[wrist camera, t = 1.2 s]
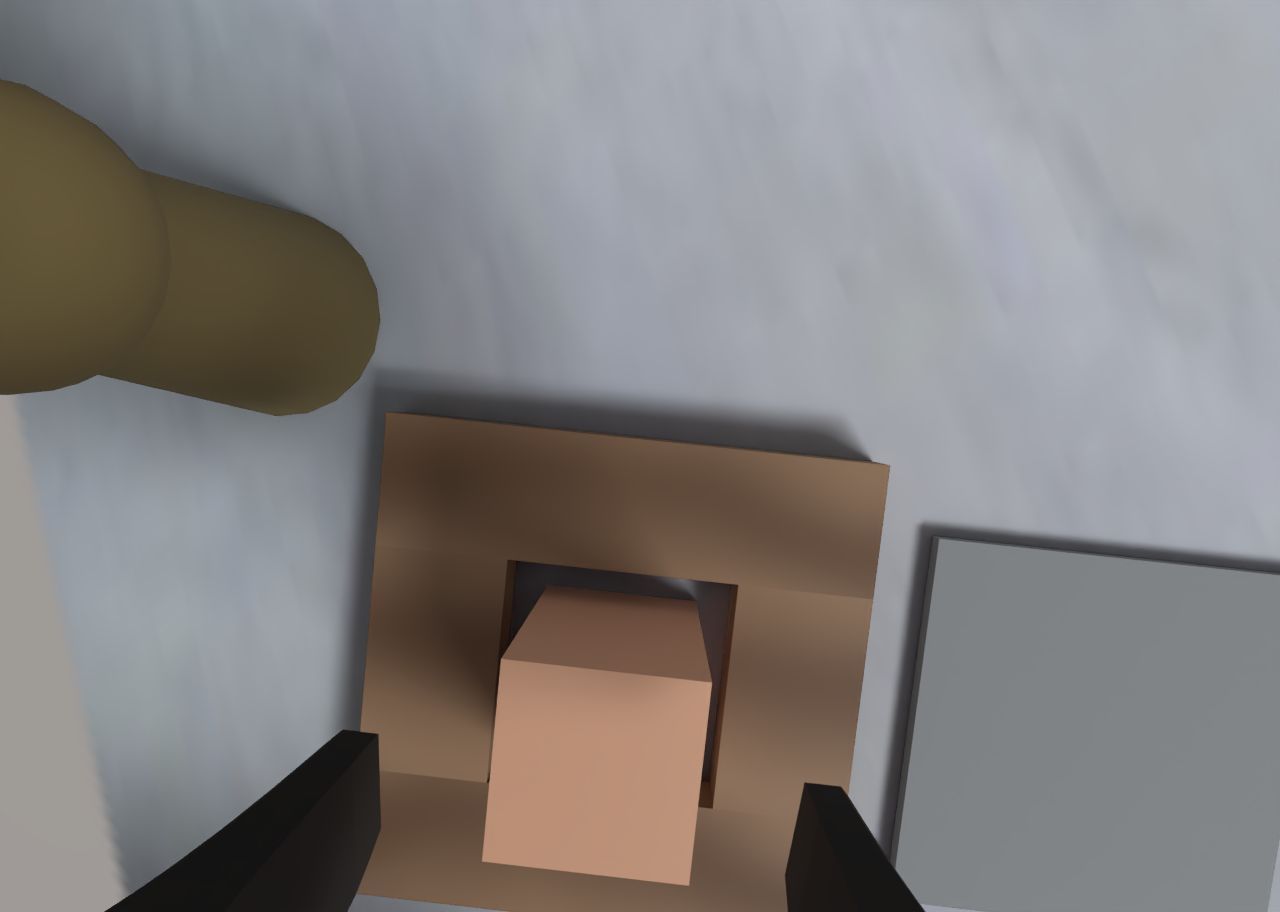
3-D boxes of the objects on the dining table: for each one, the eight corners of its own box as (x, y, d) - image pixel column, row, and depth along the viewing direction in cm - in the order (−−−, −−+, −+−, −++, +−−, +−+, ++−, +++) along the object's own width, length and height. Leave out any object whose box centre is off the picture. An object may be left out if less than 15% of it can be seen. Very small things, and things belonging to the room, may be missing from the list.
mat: (1247, 931, 22) (1261, 943, 21) (885, 889, 22) (891, 900, 21) (1307, 576, 21) (1323, 580, 21) (932, 535, 21) (939, 538, 21)
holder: (816, 912, 22) (828, 949, 21) (367, 860, 22) (347, 892, 21) (873, 461, 21) (890, 465, 20) (404, 412, 21) (386, 412, 20)
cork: (140, 283, 21) (-404, 148, 10) (306, 170, 21) (-75, -91, 10) (253, 454, 22) (-163, 498, 11) (419, 345, 21) (166, 276, 10)
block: (679, 745, 22) (688, 885, 15) (533, 728, 22) (482, 861, 16) (695, 601, 22) (711, 682, 15) (548, 584, 22) (501, 658, 15)
